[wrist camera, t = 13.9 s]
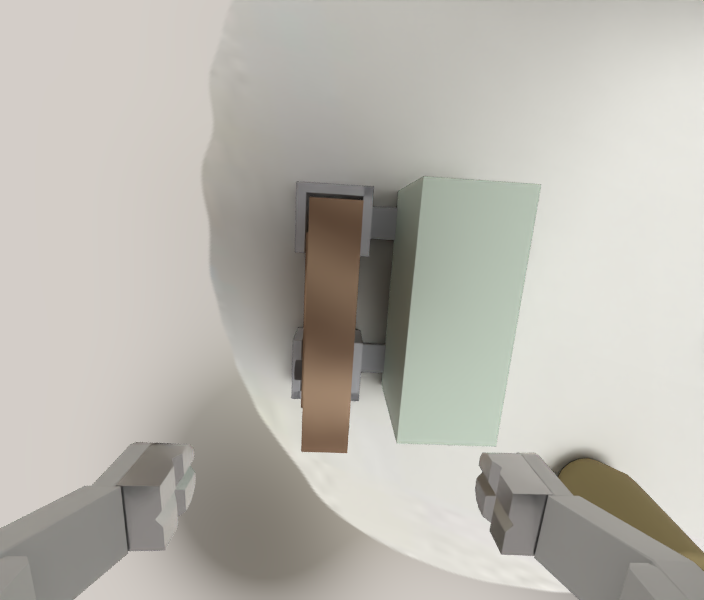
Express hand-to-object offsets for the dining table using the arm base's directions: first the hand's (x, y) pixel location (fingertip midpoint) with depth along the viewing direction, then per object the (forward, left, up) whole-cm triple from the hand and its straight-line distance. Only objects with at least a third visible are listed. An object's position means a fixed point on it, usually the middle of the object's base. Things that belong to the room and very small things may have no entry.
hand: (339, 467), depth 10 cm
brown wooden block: (0, -1, -25) cm, 25 cm away
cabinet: (0, +4, -25) cm, 26 cm away
